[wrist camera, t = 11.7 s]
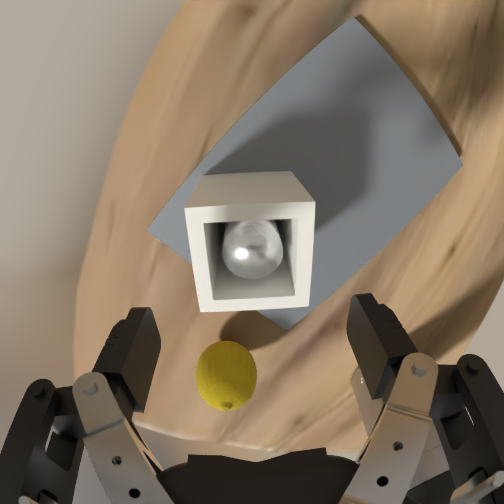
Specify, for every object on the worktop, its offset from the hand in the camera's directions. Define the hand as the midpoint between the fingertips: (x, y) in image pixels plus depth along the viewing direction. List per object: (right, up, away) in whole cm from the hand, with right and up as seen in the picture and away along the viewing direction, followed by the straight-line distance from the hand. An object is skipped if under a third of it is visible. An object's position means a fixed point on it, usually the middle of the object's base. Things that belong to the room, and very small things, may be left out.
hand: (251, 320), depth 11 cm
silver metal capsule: (0, +5, +9) cm, 11 cm away
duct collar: (0, +5, +9) cm, 11 cm away
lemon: (-2, -7, +17) cm, 19 cm away
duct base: (+5, +8, +10) cm, 14 cm away
